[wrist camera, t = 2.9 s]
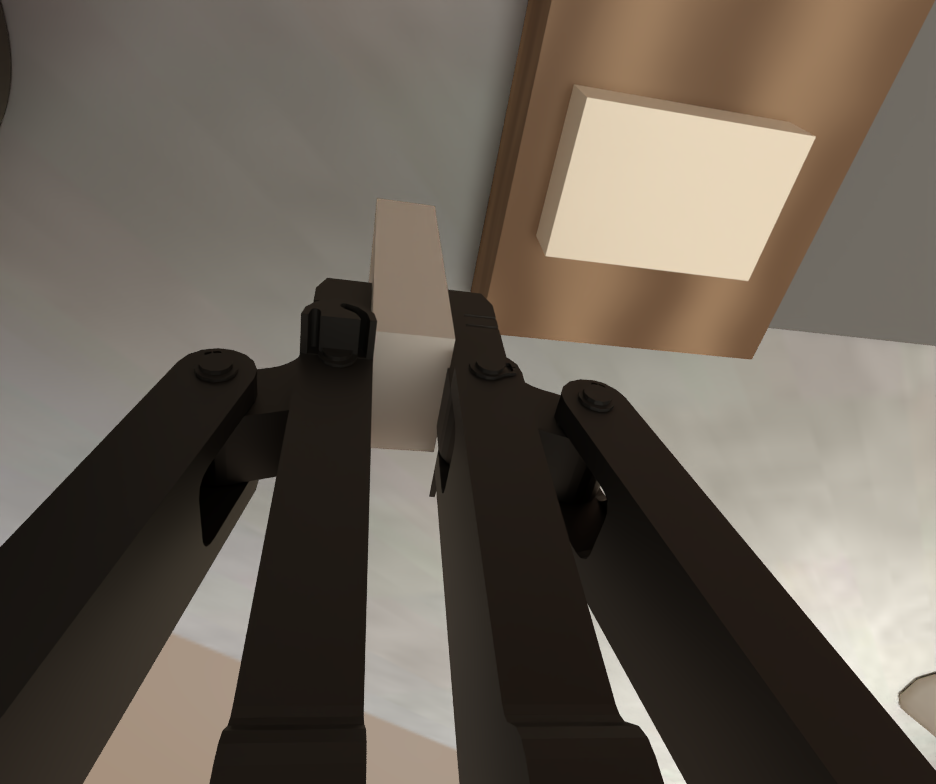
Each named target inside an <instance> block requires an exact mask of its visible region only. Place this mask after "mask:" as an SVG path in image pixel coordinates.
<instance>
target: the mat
mask: <svg viewBox="0 0 936 784" xmlns="http://www.w3.org/2000/svg"><path fill="white" fill-rule="evenodd" d="M768 328H776V329H785V330H794V331H804V332H813V333H822V334H831V335H840V336H850V337H859V338H868V339H877V340H886V341H895V342H905V343H914V344H923V345H932V346H936V0H935V2H934V4H933V6H932V8H931V10H930V12H929V14H928V15H927V17H926V19H925V21H924V23H923V25H922V27H921V29H920V31H919V33H918V35H917V37H916V39H915V41H914V43H913V45H912V47H911V49H910V51H909V53H908V55H907V57H906V59H905V60H904V62H903V64H902V66H901V68H900V70H899V72H898V74H897V76H896V78H895V80H894V82H893V84H892V86H891V88H890V90H889V92H888V94H887V96H886V98H885V100H884V102H883V104H882V106H881V107H880V109H879V111H878V113H877V115H876V117H875V119H874V121H873V123H872V125H871V127H870V129H869V131H868V133H867V135H866V137H865V139H864V141H863V143H862V145H861V147H860V149H859V151H858V152H857V154H856V156H855V158H854V160H853V162H852V164H851V166H850V168H849V170H848V172H847V174H846V176H845V178H844V180H843V182H842V184H841V186H840V188H839V190H838V192H837V194H836V196H835V198H834V199H833V201H832V203H831V205H830V207H829V209H828V211H827V213H826V215H825V217H824V219H823V221H822V223H821V225H820V227H819V229H818V231H817V233H816V235H815V237H814V239H813V241H812V243H811V244H810V246H809V248H808V250H807V252H806V254H805V256H804V258H803V260H802V262H801V264H800V266H799V268H798V270H797V272H796V274H795V276H794V278H793V280H792V282H791V284H790V286H789V288H788V289H787V291H786V293H785V295H784V297H783V299H782V301H781V303H780V305H779V307H778V309H777V311H776V313H775V315H774V317H773V319H772V321H771V323H770V325H769V327H768Z"/></svg>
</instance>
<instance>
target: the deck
mask: <svg viewBox="0 0 936 784" xmlns="http://www.w3.org/2000/svg"><path fill="white" fill-rule="evenodd" d="M934 2H935V0H529V1H528V6H527V11H526V16H525V21H524V26H523V31H522V36H521V41H520V46H519V51H518V56H517V61H516V66H515V71H514V76H513V81H512V86H511V91H510V96H509V101H508V106H507V111H506V116H505V121H504V126H503V131H502V137H501V142H500V147H499V152H498V157H497V162H496V167H495V172H494V177H493V182H492V187H491V192H490V197H489V202H488V207H487V212H486V217H485V222H484V227H483V232H482V237H481V242H480V247H479V252H478V257H477V262H476V267H475V272H474V278H473V283H472V288H471V292H472V293H481V294H482V295H483V296H484V297H485V298H486V299H487V300H488V301H489V302H490V303H491V304H492V305H493V309H494V312H495V316H496V320H497V324H498V330H499V331H500V335H508V336H518V337H529V338H539V339H549V340H559V341H569V342H579V343H590V344H600V345H610V346H620V347H630V348H641V349H651V350H661V351H671V352H681V353H691V354H702V355H712V356H722V357H732V358H742V359H752V358H753V356H754V354H755V352H756V350H757V348H758V346H759V344H760V342H761V340H762V338H763V336H764V335H765V333H766V331H767V329H768V327H769V325H770V323H771V321H772V319H773V317H774V315H775V313H776V311H777V309H778V307H779V305H780V303H781V301H782V299H783V297H784V295H785V293H786V291H787V289H788V288H789V286H790V284H791V282H792V280H793V278H794V276H795V274H796V272H797V270H798V268H799V266H800V264H801V262H802V260H803V258H804V256H805V254H806V252H807V250H808V248H809V246H810V244H811V243H812V241H813V239H814V237H815V235H816V233H817V231H818V229H819V227H820V225H821V223H822V221H823V219H824V217H825V215H826V213H827V211H828V209H829V207H830V205H831V203H832V201H833V199H834V198H835V196H836V194H837V192H838V190H839V188H840V186H841V184H842V182H843V180H844V178H845V176H846V174H847V172H848V170H849V168H850V166H851V164H852V162H853V160H854V158H855V156H856V154H857V152H858V151H859V149H860V147H861V145H862V143H863V141H864V139H865V137H866V135H867V133H868V131H869V129H870V127H871V125H872V123H873V121H874V119H875V117H876V115H877V113H878V111H879V109H880V107H881V106H882V104H883V102H884V100H885V98H886V96H887V94H888V92H889V90H890V88H891V86H892V84H893V82H894V80H895V78H896V76H897V74H898V72H899V70H900V68H901V66H902V64H903V62H904V60H905V59H906V57H907V55H908V53H909V51H910V49H911V47H912V45H913V43H914V41H915V39H916V37H917V35H918V33H919V31H920V29H921V27H922V25H923V23H924V21H925V19H926V17H927V15H928V14H929V12H930V10H931V8H932V6H933V4H934ZM574 84H575V85H580V86H586V87H592V88H598V89H603V90H609V91H615V92H620V93H626V94H632V95H638V96H643V97H649V98H655V99H661V100H666V101H672V102H678V103H683V104H689V105H695V106H701V107H706V108H712V109H718V110H724V111H729V112H735V113H741V114H746V115H752V116H758V117H764V118H769V119H775V120H781V121H786V122H790V123H792V124H794V125H796V126H798V127H800V128H801V129H803V130H805V131H807V132H809V133H810V134H812V135H814V136H816V138H815V140H814V142H813V144H812V146H811V148H810V150H809V153H808V155H807V157H806V159H805V161H804V163H803V165H802V168H801V170H800V172H799V174H798V176H797V178H796V180H795V183H794V185H793V187H792V189H791V191H790V193H789V195H788V197H787V200H786V202H785V204H784V206H783V208H782V210H781V212H780V215H779V217H778V219H777V221H776V223H775V225H774V227H773V229H772V232H771V234H770V236H769V238H768V240H767V242H766V244H765V247H764V249H763V251H762V253H761V255H760V257H759V259H758V262H757V264H756V266H755V268H754V270H753V272H752V274H751V276H750V279H749V281H744V280H736V279H728V278H720V277H711V276H703V275H695V274H687V273H679V272H671V271H663V270H654V269H646V268H638V267H630V266H622V265H614V264H605V263H597V262H589V261H581V260H573V259H565V258H557V257H548V256H545V254H544V252H543V250H542V248H541V245H540V243H539V241H538V239H537V237H536V234H537V230H538V226H539V222H540V218H541V214H542V210H543V206H544V202H545V198H546V194H547V190H548V186H549V182H550V178H551V174H552V170H553V166H554V162H555V158H556V154H557V150H558V146H559V142H560V138H561V134H562V130H563V126H564V122H565V118H566V114H567V110H568V106H569V102H570V98H571V94H572V90H573V86H574Z"/></svg>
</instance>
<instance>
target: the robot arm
mask: <svg viewBox="0 0 936 784" xmlns="http://www.w3.org/2000/svg"><path fill="white" fill-rule="evenodd" d="M10 78H11V57H10V47H9V39H8V33H7V27H6V23H5V19H4V15H3V10H2V7H1V4H0V124H1V122H2V119H3V116H4V114H5V110H6V106H7V102H8V96H9V90H10ZM437 437H438V448H439V449H438V454H437V460H436V465H435V470H434V475H433V480H432V485H431V490H430V495H429V497H435V494H436V492H437V505H438V518H439V530H440V543H441V555H442V568H443V581H444V593H445V606H446V619H447V631H448V644H449V657H450V669H451V682H452V695H453V707H454V720H455V732H456V745H457V758H458V769H459V782H460V784H664V782H663V779H662V775H661V772H660V769H659V766H658V763H657V759H656V756H655V754H654V752H653V749H652V747H651V744H650V742H649V739H648V737H647V736H646V735H645V733H644V732H643V731H642V730H641V728H640V727H639V726H637V725H634V724H631V723H628V722H625V721H624V720H623V719H622V717H621V716H620V714H619V712H618V709H617V707H616V704H615V700H614V697H613V693H612V690H611V686H610V683H609V679H608V676H607V672H606V669H605V665H604V661H603V658H602V654H601V651H600V647H599V644H598V640H597V637H596V633H595V630H594V626H593V622H592V619H591V615H590V612H589V608H588V605H589V607H590V609H591V611H592V613H593V615H594V616H595V618H596V620H597V622H598V624H599V625H600V627H601V629H602V631H603V633H604V634H605V636H606V638H607V640H608V642H609V644H610V645H611V647H612V649H613V651H614V653H615V654H616V656H617V658H618V660H619V662H620V664H621V665H622V667H623V669H624V671H625V673H626V674H627V676H628V678H629V680H630V682H631V683H632V685H633V687H634V689H635V691H636V693H637V694H638V696H639V698H640V700H641V702H642V703H643V705H644V707H645V709H646V711H647V713H648V714H649V716H650V718H651V720H652V722H653V723H654V725H655V727H656V729H657V731H658V732H659V734H660V736H661V738H662V740H663V742H664V743H665V745H666V747H667V749H668V751H669V752H670V754H671V756H672V758H673V760H674V761H675V763H676V765H677V767H678V769H679V771H680V772H681V774H682V776H683V778H684V780H685V781H686V783H687V784H936V770H935V769H934V768H933V767H932V766H931V764H930V763H929V762H928V761H927V760H926V758H925V757H924V756H923V755H922V754H921V752H920V751H919V750H918V749H917V748H916V746H915V745H914V744H913V743H912V742H911V740H910V739H909V738H908V737H907V736H906V734H905V733H904V732H903V731H902V730H901V728H900V727H899V726H898V725H897V724H896V722H895V721H894V720H893V719H892V717H891V716H890V715H889V714H888V713H887V711H886V710H885V709H884V708H883V707H882V705H881V704H880V703H879V702H878V701H877V699H876V698H875V697H874V696H873V695H872V693H871V692H870V691H869V690H868V689H867V687H866V686H865V685H864V684H863V683H862V681H861V680H860V679H859V678H858V677H857V675H856V674H855V673H854V672H853V671H852V669H851V668H850V667H849V666H848V665H847V663H846V662H845V661H844V660H843V659H842V657H841V656H840V655H839V654H838V653H837V651H836V650H835V649H834V648H833V647H832V645H831V644H830V643H829V642H828V641H827V639H826V638H825V637H824V636H823V635H822V633H821V632H820V631H819V630H818V629H817V627H816V626H815V625H814V624H813V623H812V621H811V620H810V619H809V618H808V617H807V615H806V614H805V613H804V612H803V611H802V609H801V608H800V607H799V606H798V605H797V603H796V602H795V601H794V600H793V599H792V597H791V596H790V595H789V594H788V593H787V591H786V590H785V589H784V588H783V587H782V585H781V584H780V583H779V582H778V581H777V579H776V578H775V577H774V576H773V574H772V573H771V572H770V571H769V570H768V568H767V567H766V566H765V565H764V564H763V562H762V561H761V560H760V559H759V558H758V556H757V555H756V554H755V553H754V552H753V550H752V549H751V548H750V547H749V546H748V544H747V543H746V542H745V541H744V540H743V538H742V537H741V536H740V535H739V534H738V532H737V531H736V530H735V529H734V528H733V526H732V525H731V524H730V523H729V522H728V520H727V519H726V518H725V517H724V516H723V514H722V513H721V512H720V511H719V510H718V508H717V507H716V506H715V505H714V504H713V502H712V501H711V500H710V499H709V498H708V496H707V495H706V494H705V493H704V492H703V490H702V489H701V488H700V487H699V486H698V484H697V483H696V482H695V481H694V480H693V478H692V477H691V476H690V475H689V474H688V472H687V471H686V470H685V469H684V468H683V466H682V465H681V464H680V463H679V462H678V460H677V459H676V458H675V457H674V456H673V454H672V453H671V452H670V451H669V450H668V448H667V447H666V446H665V445H664V444H663V442H662V441H661V440H660V439H659V438H658V436H657V435H656V434H655V433H654V431H653V430H652V429H651V428H650V427H649V425H648V424H647V423H646V422H645V421H644V419H643V418H642V417H641V416H640V415H639V413H638V412H637V411H636V410H635V409H634V407H633V406H632V405H631V404H630V403H629V401H628V400H627V399H626V398H625V397H624V396H623V395H622V394H621V393H619V392H618V391H617V390H616V389H614V388H612V387H610V386H608V385H606V384H604V383H601V382H598V381H593V380H575V381H571V382H569V383H567V384H566V385H565V386H563V389H562V392H561V395H558V394H555V393H551V392H548V391H544V390H541V389H538V388H536V387H533V386H531V385H529V384H527V383H525V381H524V378H523V374H522V372H521V370H520V369H519V367H518V365H517V364H515V363H514V362H513V361H511V360H510V359H509V358H506V354H505V351H504V347H503V343H502V339H501V335H500V331H499V330H498V324H497V320H496V316H495V312H494V309H493V305H492V304H491V303H490V302H489V301H488V300H487V299H486V298H485V297H484V296H483V295H482V294H481V293H472V292H463V291H454V290H448V288H447V282H446V276H445V269H444V263H443V256H442V250H441V244H440V237H439V231H438V224H437V218H436V211H435V206H431V205H423V204H416V203H408V202H401V201H394V200H386V199H379V198H377V203H376V213H375V224H374V234H373V244H372V255H371V265H370V275H369V283H368V282H359V281H350V280H341V279H332V278H327V279H326V280H325V281H323V282H322V283H321V284H320V285H319V286H318V287H316V291H315V296H314V302H313V303H312V304H310V305H308V306H306V307H305V309H304V310H303V312H302V313H301V336H300V355H299V357H298V358H297V359H295V360H294V361H292V362H290V363H288V364H285V365H282V366H278V367H272V368H265V369H257V368H256V366H255V363H254V361H253V360H252V359H250V358H249V357H248V356H247V355H245V354H242V353H240V352H237V351H234V350H228V349H219V348H217V349H206V350H200V351H197V352H194V353H191V354H188V355H187V356H185V357H184V358H182V359H181V360H179V361H178V362H177V363H176V364H175V365H174V366H173V367H172V368H171V369H170V370H169V371H168V373H167V374H166V375H165V376H164V377H163V378H162V379H161V380H160V381H159V382H158V383H157V384H156V385H155V386H154V387H153V388H152V389H151V390H150V391H149V392H148V393H147V394H146V395H145V397H144V398H143V399H142V400H141V401H140V402H139V403H138V404H137V405H136V406H135V407H134V408H133V409H132V410H131V411H130V412H129V413H128V414H127V415H126V416H125V417H124V418H123V420H122V421H121V422H120V423H119V424H118V425H117V426H116V427H115V428H114V429H113V430H112V431H111V432H110V433H109V434H108V435H107V436H106V437H105V438H104V439H103V440H102V441H101V442H100V444H99V445H98V446H97V447H96V448H95V449H94V450H93V451H92V452H91V453H90V454H89V455H88V456H87V457H86V458H85V459H84V460H83V461H82V462H81V463H80V464H79V465H78V467H77V468H76V469H75V470H74V471H73V472H72V473H71V474H70V475H69V476H68V477H67V478H66V479H65V480H64V481H63V482H62V483H61V484H60V485H59V486H58V487H57V488H56V489H55V491H54V492H53V493H52V494H51V495H50V496H49V497H48V498H47V499H46V500H45V501H44V502H43V503H42V504H41V505H40V506H39V507H38V508H37V509H36V510H35V511H34V512H33V514H32V515H31V516H30V517H29V518H28V519H27V520H26V521H25V522H24V523H23V524H22V525H21V526H20V527H19V528H18V529H17V530H16V531H15V532H14V533H13V534H12V535H11V536H10V538H9V539H8V540H7V541H6V542H5V543H4V544H3V545H2V546H1V547H0V784H83V782H84V780H85V779H86V777H87V776H88V774H89V772H90V770H91V769H92V767H93V765H94V764H95V762H96V760H97V758H98V757H99V755H100V754H101V752H102V750H103V748H104V747H105V745H106V743H107V741H108V740H109V738H110V736H111V735H112V733H113V731H114V730H115V728H116V726H117V725H118V723H119V721H120V720H121V718H122V716H123V714H124V713H125V711H126V709H127V708H128V706H129V704H130V703H131V701H132V699H133V698H134V696H135V694H136V692H137V691H138V689H139V687H140V685H141V684H142V682H143V681H144V679H145V677H146V675H147V674H148V672H149V670H150V669H151V667H152V665H153V663H154V662H155V660H156V658H157V657H158V655H159V653H160V652H161V650H162V648H163V646H164V645H165V643H166V641H167V640H168V638H169V636H170V635H171V633H172V631H173V630H174V628H175V626H176V625H177V623H178V621H179V619H180V618H181V616H182V614H183V613H184V611H185V609H186V608H187V606H188V604H189V602H190V601H191V599H192V597H193V596H194V594H195V592H196V591H197V589H198V587H199V585H200V584H201V582H202V580H203V579H204V577H205V575H206V574H207V572H208V570H209V568H210V567H211V565H212V563H213V562H214V560H215V558H216V557H217V555H218V553H219V552H220V550H221V548H222V546H223V545H224V543H225V541H226V540H227V538H228V536H229V535H230V533H231V531H232V529H233V528H234V526H235V524H236V523H237V521H238V519H239V518H240V516H241V514H242V512H243V511H244V509H245V507H246V506H247V504H248V502H249V501H250V499H251V497H252V495H253V494H254V492H255V490H256V487H257V484H258V480H259V479H265V478H270V477H276V482H275V487H274V492H273V497H272V503H271V508H270V513H269V518H268V524H267V529H266V534H265V540H264V545H263V550H262V555H261V561H260V566H259V571H258V576H257V582H256V587H255V592H254V597H253V603H252V608H251V613H250V618H249V624H248V629H247V634H246V639H245V645H244V650H243V655H242V660H241V666H240V671H239V676H238V682H237V687H236V692H235V697H234V703H233V708H232V712H231V717H230V720H229V723H228V726H227V727H226V728H225V729H224V730H223V731H222V734H221V737H220V740H219V743H218V747H217V751H216V755H215V760H214V764H213V769H212V774H211V779H210V784H366V743H367V741H366V728H365V725H364V678H365V641H366V604H367V567H368V530H369V493H370V456H371V448H383V449H398V450H412V451H427V452H434V448H435V443H436V438H437ZM600 486H601V487H602V489H603V491H604V493H605V495H606V496H605V495H604V494H603V492H602V491H601V489H600ZM587 604H588V605H587Z"/></svg>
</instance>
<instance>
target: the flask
mask: <svg viewBox="0 0 936 784" xmlns="http://www.w3.org/2000/svg"><path fill="white" fill-rule="evenodd" d="M900 708H902V709H903V710H904V711H905V712H906V713H907V714H908V715H910V716H911V717H912V718H913V719H914V720H916V721H917V722H918V723H919V724H921V725H922V726H923V727H924V728H925V729H927V730H928V731H929V732H930V733H931V734H933V735H934V736H935V737H936V674H933V675H930V676H927V677H923V678H920V679H917V680H916V681H915V682H914V683H913V684H911V685H910V686H909V687H908V688H907V689H906V690H905V691H904V692H903V693H901V694H900Z"/></svg>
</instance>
